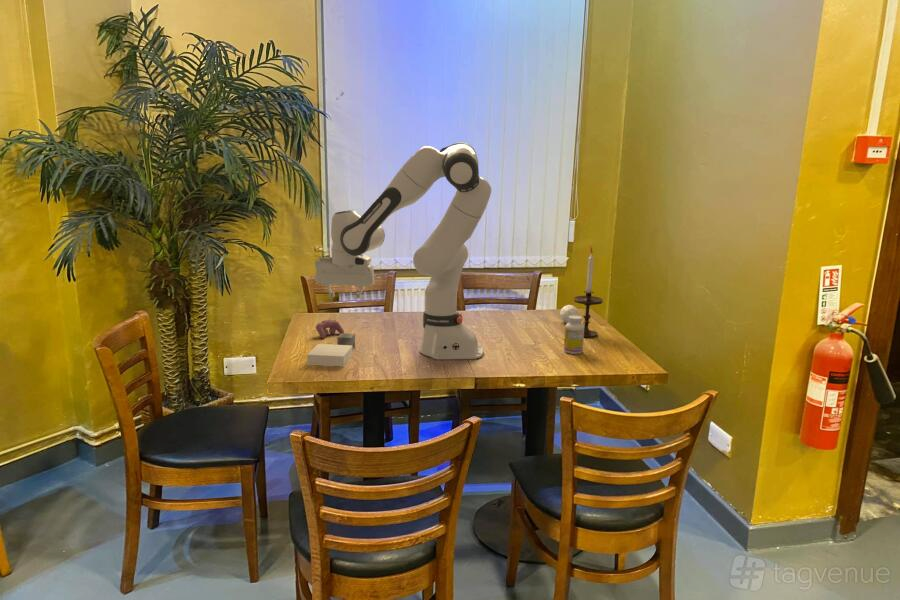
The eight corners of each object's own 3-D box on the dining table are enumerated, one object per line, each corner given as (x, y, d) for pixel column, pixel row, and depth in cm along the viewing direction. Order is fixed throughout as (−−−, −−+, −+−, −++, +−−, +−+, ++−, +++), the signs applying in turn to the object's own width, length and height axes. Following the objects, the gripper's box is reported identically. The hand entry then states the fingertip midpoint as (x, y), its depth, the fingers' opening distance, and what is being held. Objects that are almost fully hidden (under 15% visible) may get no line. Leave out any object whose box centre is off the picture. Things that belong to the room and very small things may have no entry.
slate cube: (355, 347, 227) (354, 333, 226) (351, 351, 222) (351, 337, 221) (341, 346, 228) (341, 333, 226) (337, 350, 223) (337, 337, 222)
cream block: (352, 356, 218) (352, 345, 217) (343, 368, 206) (343, 356, 205) (318, 355, 219) (318, 343, 218) (307, 366, 207) (307, 354, 206)
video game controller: (339, 336, 245) (334, 319, 246) (345, 333, 242) (340, 316, 243) (317, 341, 238) (312, 323, 239) (323, 338, 235) (318, 320, 236)
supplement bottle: (567, 348, 231) (569, 313, 228) (584, 350, 228) (587, 316, 225) (561, 352, 225) (563, 317, 222) (579, 355, 222) (582, 320, 219)
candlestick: (587, 340, 241) (594, 248, 233) (565, 333, 249) (571, 245, 241) (605, 335, 248) (612, 246, 240) (583, 329, 256) (589, 242, 248)
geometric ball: (563, 329, 266) (552, 313, 266) (575, 320, 270) (564, 304, 270) (574, 324, 259) (563, 308, 259) (586, 315, 263) (575, 299, 263)
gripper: (312, 258, 215) (313, 298, 218) (371, 260, 214) (371, 300, 217) (317, 255, 221) (318, 294, 225) (375, 257, 220) (375, 296, 223)
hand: (345, 297), depth 221 cm, fingers open, 8 cm apart
